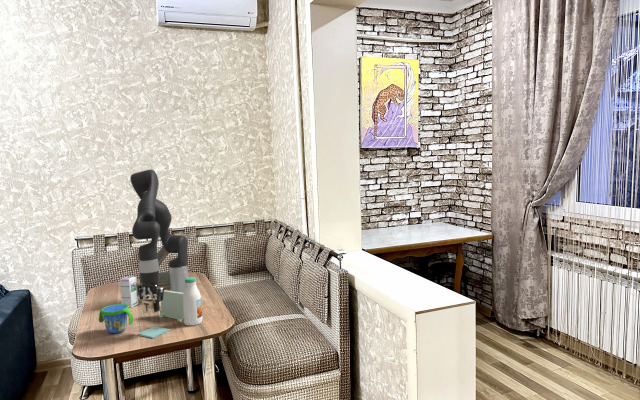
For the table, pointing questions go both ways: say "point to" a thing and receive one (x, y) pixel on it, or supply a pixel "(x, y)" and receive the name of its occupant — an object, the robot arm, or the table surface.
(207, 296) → the table surface
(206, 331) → the table surface
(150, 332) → the pad
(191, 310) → the milk bottle
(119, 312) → the snack cup
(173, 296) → the screen
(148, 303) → the letter cube
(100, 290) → the table surface
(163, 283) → the bible
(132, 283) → the syrup box
